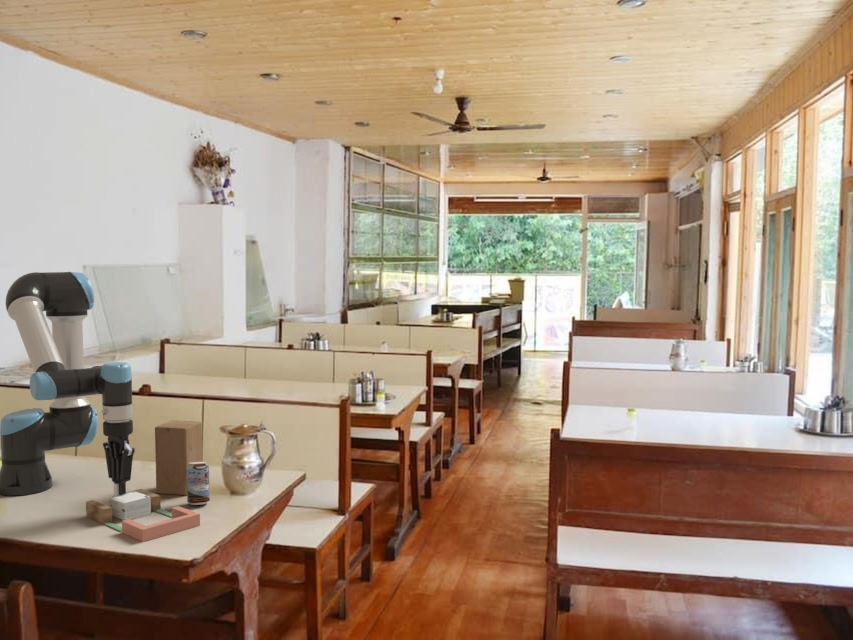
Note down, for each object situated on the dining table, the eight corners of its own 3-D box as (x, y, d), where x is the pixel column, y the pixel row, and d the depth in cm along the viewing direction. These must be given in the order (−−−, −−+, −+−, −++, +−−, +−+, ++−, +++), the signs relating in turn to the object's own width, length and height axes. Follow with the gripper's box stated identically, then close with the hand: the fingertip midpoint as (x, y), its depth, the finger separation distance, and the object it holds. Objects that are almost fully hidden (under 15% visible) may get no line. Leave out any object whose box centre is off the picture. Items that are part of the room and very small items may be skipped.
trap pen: (122, 532, 199) (121, 520, 198) (178, 517, 211) (178, 506, 211) (142, 541, 192) (142, 529, 192) (200, 525, 204) (199, 514, 204)
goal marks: (104, 524, 205) (104, 523, 205) (160, 510, 217) (160, 509, 217) (120, 531, 199) (120, 530, 199) (176, 516, 211) (176, 515, 211)
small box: (109, 515, 212) (109, 497, 212) (136, 508, 218) (136, 490, 218) (124, 522, 207) (124, 502, 207) (151, 514, 213) (151, 496, 212)
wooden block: (186, 495, 230) (185, 428, 228) (155, 493, 232) (154, 426, 230) (203, 486, 240) (202, 421, 238) (173, 484, 242) (171, 419, 240)
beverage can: (189, 509, 217) (188, 466, 217) (184, 501, 224) (183, 460, 223) (212, 506, 220) (212, 463, 219) (207, 498, 227) (206, 457, 226)
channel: (86, 516, 211) (85, 501, 211) (141, 502, 223) (141, 488, 223) (104, 524, 205) (104, 509, 204) (160, 510, 217) (160, 495, 216)
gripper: (92, 418, 215) (95, 503, 216) (116, 425, 206) (119, 513, 208) (118, 414, 220) (121, 497, 222) (143, 421, 212) (145, 507, 213)
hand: (120, 505), depth 215 cm, fingers closed
